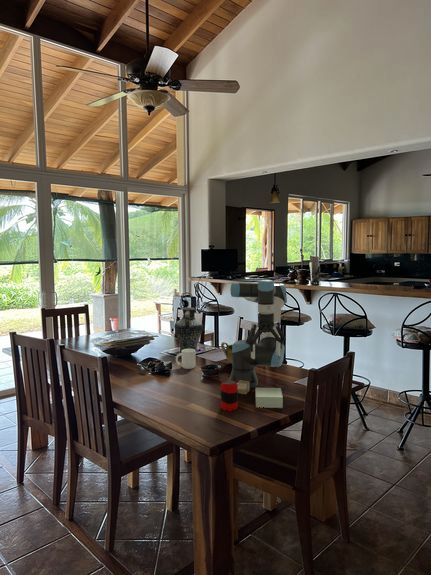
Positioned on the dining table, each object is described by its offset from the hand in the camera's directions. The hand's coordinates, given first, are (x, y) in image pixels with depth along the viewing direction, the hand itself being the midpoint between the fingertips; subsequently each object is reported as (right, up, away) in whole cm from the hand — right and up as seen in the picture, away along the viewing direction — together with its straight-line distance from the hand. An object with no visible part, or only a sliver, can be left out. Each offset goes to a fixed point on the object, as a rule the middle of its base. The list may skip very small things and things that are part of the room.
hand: (265, 356), depth 203 cm
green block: (+1, -21, -4) cm, 21 cm away
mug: (-42, -15, +53) cm, 69 cm away
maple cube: (-10, -19, +10) cm, 24 cm away
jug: (-42, -11, +90) cm, 100 cm away
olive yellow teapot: (-9, -14, +57) cm, 60 cm away
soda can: (-18, -22, -10) cm, 30 cm away
